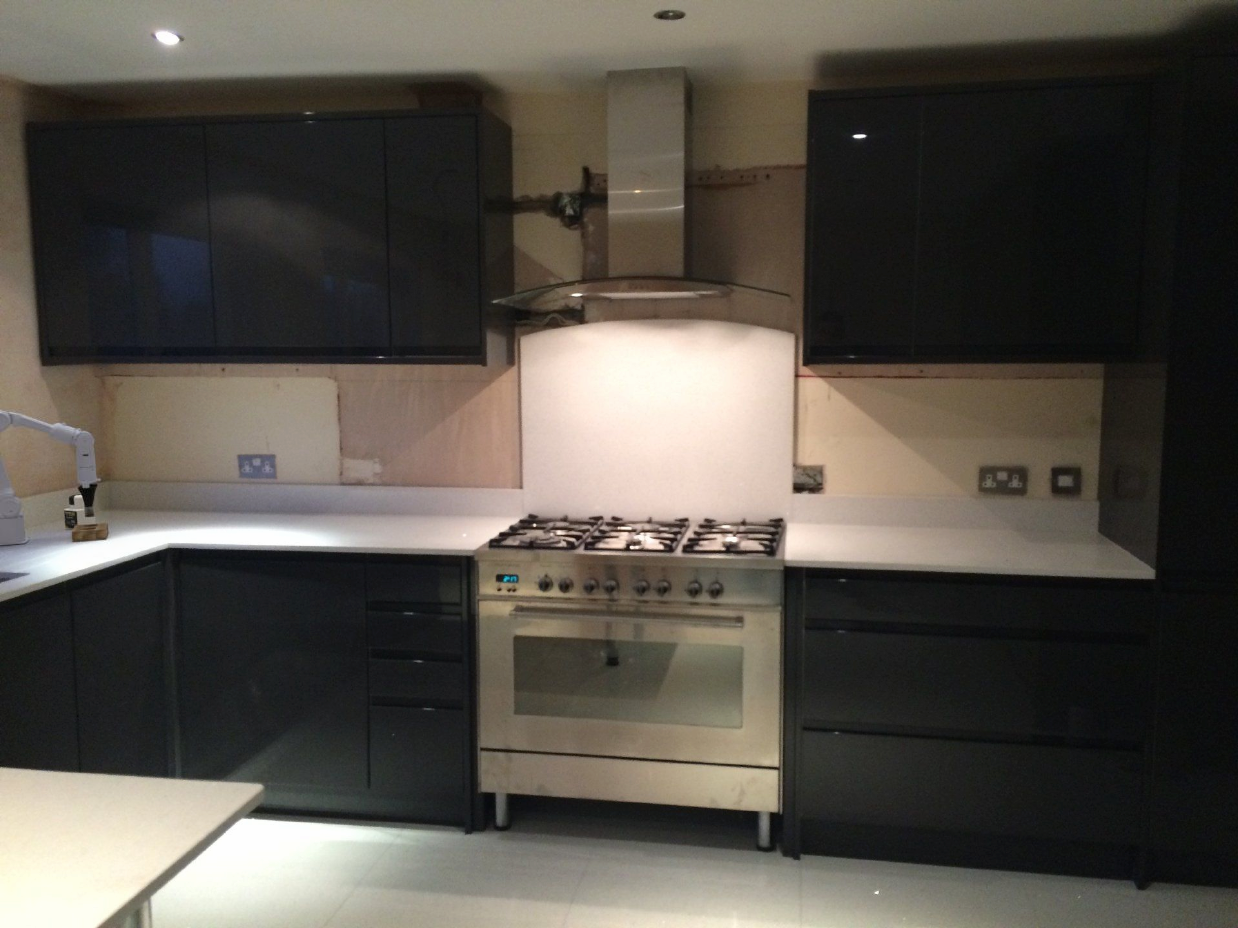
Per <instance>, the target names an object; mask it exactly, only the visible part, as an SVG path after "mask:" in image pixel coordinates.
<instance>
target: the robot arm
mask: <svg viewBox="0 0 1238 928" xmlns="http://www.w3.org/2000/svg"><path fill="white" fill-rule="evenodd" d="M11 425H12V428H18V427H25V428H29V429H33V430H35V431H39V432H42V433H46V434H49V437H50V439H51V440H54V441H58V442H61V443H63V444H66V445H70V446H73V445H75V446H76V449H75V451H76V454H75V459H76V460H75V461H76V472H77V480H76V481H77V483H78V484H80V485H79V486H78V487H77V490H78V492H79V494H81V495H82V498H83V501H84V505H85V507H92V506H93V500H94V501H95V495H96V491H97V488H98V485H99V484H98V483H97V482H101V478H97V467H96V466H97V465H96V454H95V453H96V452H94V451H95V447H94V444H95V439H94V436H93V434H91V433H90V432H88V431H86V430H82V429H81V428H80V427H78V428H75V427H72V426H69V425H67V423H65V422H61V423H59V422H57V423H54V424H51V423H48V422H45V421H42V420H39V419H36V418H33V417H31V416H28V415H25V414H23V413H18V412H14V411H9V412H8V411H6V410H5V409H0V435H1V434H2V433H4V431H6V430H7V429H8V428H10V426H11ZM21 510H22V500H21V499H20V497H18V496H17V494H16V493H15V491H14V488H13V485H12V483H11V480H10V477H9V474H8V472H7V468H6V466H5V463H4V460H3V457H2V455H1V453H0V546H8V545H21V544H27V542H28V541H29V540H30V539H29V538H28V537H26V527H25V515H24V513H22V512H21Z"/></svg>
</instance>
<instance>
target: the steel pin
mask: <svg viewBox="0 0 1238 928" xmlns="http://www.w3.org/2000/svg"><path fill="white" fill-rule="evenodd" d="M94 503H95V499H94V500H93V506H92V507H85V505H84V512H85V517H94V516H95V517H96V514H95V513H94V510H95V504H94Z"/></svg>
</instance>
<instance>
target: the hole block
mask: <svg viewBox="0 0 1238 928" xmlns="http://www.w3.org/2000/svg"><path fill="white" fill-rule="evenodd" d="M108 535H109V522H98V523H96V524H84V525H75V527H74V528H73V529H71V540H72V541H71V543H79V542H80V541H81V542H90V541H103V540H105V541H106V540H107V538H108Z"/></svg>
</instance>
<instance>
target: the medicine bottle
mask: <svg viewBox="0 0 1238 928" xmlns="http://www.w3.org/2000/svg"><path fill="white" fill-rule="evenodd" d="M68 503H69V504H68V505H69V507H68V508H64V509H63V512H64V513H63V515H64V527H65V529H66V530H73V528H74V527H75V525H84V524H97V522H96V515H95V516H94V517H85V512H84V501H83V498H82V495H81V493H79V494H78V493H77V494H71V495H70V496H68ZM95 511H96V510H95V509H94V513H95Z"/></svg>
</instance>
